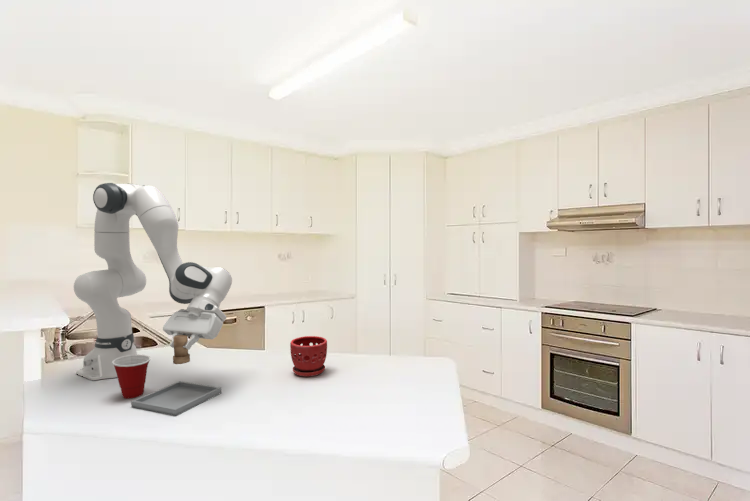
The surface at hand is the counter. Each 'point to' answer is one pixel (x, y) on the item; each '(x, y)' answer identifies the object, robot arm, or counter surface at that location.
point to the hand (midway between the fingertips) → (179, 347)
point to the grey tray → (176, 398)
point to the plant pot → (308, 355)
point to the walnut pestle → (180, 350)
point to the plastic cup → (131, 374)
